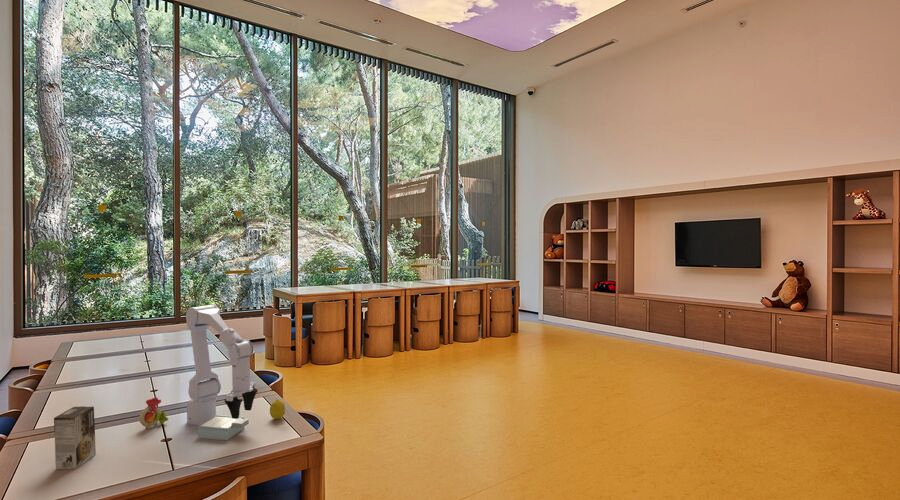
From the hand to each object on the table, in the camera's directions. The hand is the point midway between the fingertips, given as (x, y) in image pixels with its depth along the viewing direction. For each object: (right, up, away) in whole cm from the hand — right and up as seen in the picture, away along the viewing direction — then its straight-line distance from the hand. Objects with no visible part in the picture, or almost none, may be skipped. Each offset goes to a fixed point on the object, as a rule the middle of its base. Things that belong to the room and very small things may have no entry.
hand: (241, 414), depth 168 cm
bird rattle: (-36, -8, +8) cm, 38 cm away
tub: (-8, -8, +2) cm, 11 cm away
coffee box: (-43, -9, -19) cm, 48 cm away
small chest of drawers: (-6, -4, +1) cm, 7 cm away
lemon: (+7, -8, +14) cm, 18 cm away
